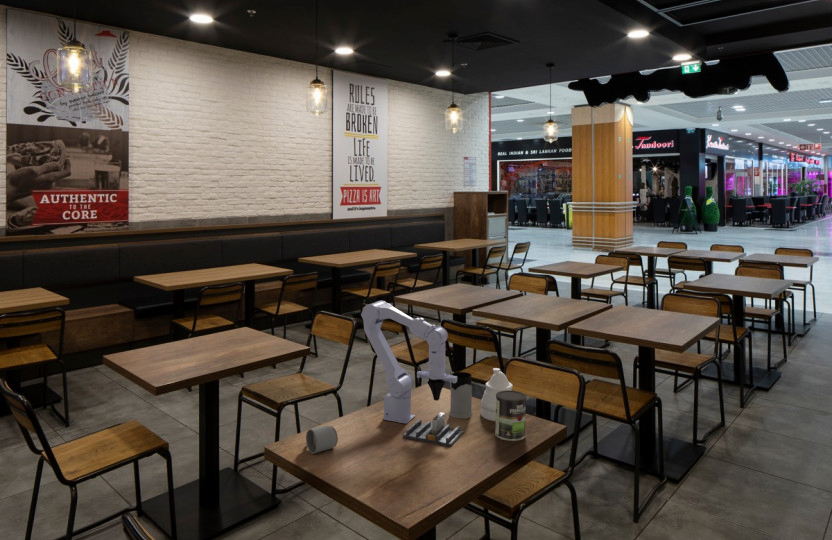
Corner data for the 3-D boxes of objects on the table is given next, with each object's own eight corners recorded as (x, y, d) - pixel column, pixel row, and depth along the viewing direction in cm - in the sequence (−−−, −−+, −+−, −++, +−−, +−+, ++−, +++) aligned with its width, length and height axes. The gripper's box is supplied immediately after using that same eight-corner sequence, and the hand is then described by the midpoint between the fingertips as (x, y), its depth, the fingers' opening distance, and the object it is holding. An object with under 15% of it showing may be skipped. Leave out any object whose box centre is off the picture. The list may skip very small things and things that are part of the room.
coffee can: (531, 437, 194) (533, 397, 192) (506, 443, 189) (507, 402, 187) (513, 426, 203) (514, 388, 201) (488, 432, 198) (489, 392, 196)
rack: (402, 437, 194) (402, 430, 193) (417, 424, 205) (417, 417, 204) (450, 446, 187) (450, 439, 186) (463, 433, 197) (463, 426, 197)
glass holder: (455, 419, 209) (455, 379, 207) (439, 406, 222) (440, 368, 221) (476, 416, 213) (477, 377, 211) (460, 403, 226) (460, 366, 224)
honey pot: (503, 424, 205) (504, 375, 203) (474, 415, 214) (474, 368, 211) (522, 414, 215) (523, 367, 213) (493, 405, 223) (494, 360, 221)
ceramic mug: (339, 450, 184) (339, 427, 183) (316, 457, 179) (316, 433, 178) (323, 439, 192) (322, 417, 191) (300, 446, 187) (300, 423, 186)
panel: (432, 436, 192) (432, 419, 191) (440, 429, 198) (440, 412, 197) (436, 437, 191) (436, 420, 190) (444, 429, 198) (444, 413, 197)
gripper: (413, 362, 201) (413, 400, 202) (452, 367, 195) (451, 406, 196) (421, 357, 207) (421, 393, 209) (459, 362, 201) (458, 399, 203)
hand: (436, 399), depth 203 cm, fingers closed
